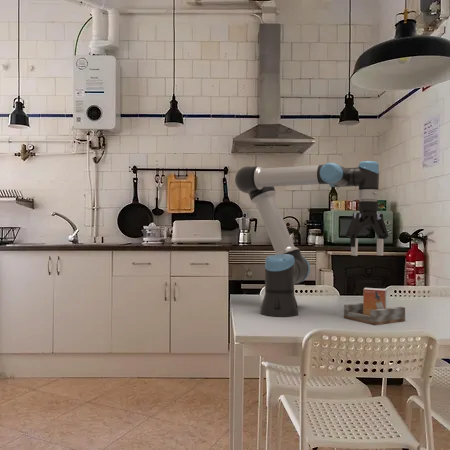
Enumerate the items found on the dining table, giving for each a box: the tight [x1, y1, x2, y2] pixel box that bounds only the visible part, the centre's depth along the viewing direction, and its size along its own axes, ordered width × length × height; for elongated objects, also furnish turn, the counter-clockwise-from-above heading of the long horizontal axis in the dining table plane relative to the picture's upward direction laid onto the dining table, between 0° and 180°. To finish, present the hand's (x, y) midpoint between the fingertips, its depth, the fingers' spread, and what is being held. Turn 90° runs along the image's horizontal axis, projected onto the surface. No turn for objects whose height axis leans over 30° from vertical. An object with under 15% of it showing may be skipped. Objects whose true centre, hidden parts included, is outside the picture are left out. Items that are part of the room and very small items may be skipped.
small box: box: [362, 287, 387, 316], centre depth 170 cm, size 8×6×10 cm
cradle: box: [343, 302, 406, 326], centre depth 169 cm, size 16×15×5 cm
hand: (367, 255), depth 176 cm, fingers open, 13 cm apart
